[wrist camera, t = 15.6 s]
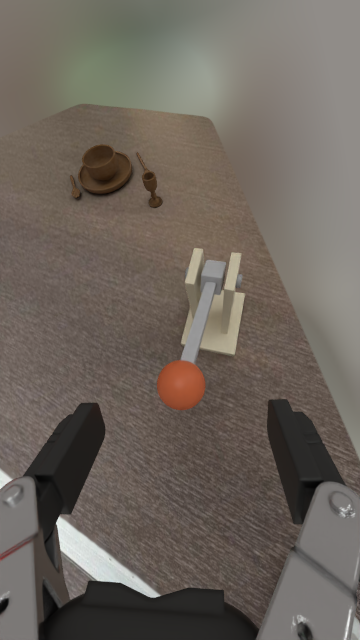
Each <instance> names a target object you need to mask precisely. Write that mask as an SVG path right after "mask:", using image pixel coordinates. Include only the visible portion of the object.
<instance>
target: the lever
mask: <svg viewBox="0 0 360 640" xmlns="http://www.w3.org/2000/svg"><path fill="white" fill-rule="evenodd" d="M225 270H226V262H220V261H212V260H206V263H205V265H204V268H203V271H202V274H201V292H202V295H201V298H200V301H199V304H198V307H197V310H196V313H195V316H194V319H193V323H192V326H191V329H190V332H189V335H188V338H187V341H186V344H185V347H184V350H183V353H182V356H181V359H180V360H178V361H174V362H171V363H169V364H168V365H166V366H165V367H164V368H163V369H162V371H161V372H160V374H159V377H158V381H157V389H158V393H159V396H160V398H161V399H162V401H163V402H164V403H165V404H166V405H167V406H169V407H171V408H173V409H176V410H186V409H190V408H192V407H194V406H195V405H196V404H197V403H198V402H199V401H200V400H201V398H202V397H203V395H204V391H205V379H204V376H203V374H202V372H201V370H200V369H199V368H198V367H197V366H196V365H195V363H196V359H197V356H198V352H199V348H200V345H201V341H202V338H203V334H204V330H205V327H206V323H207V319H208V316H209V312H210V309H211V305H212V301H213V298H214V294H215V295H220V294H221V291H222V287H223V283H224V278H225Z"/></svg>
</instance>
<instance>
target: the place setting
mask: <svg viewBox="0 0 360 640" xmlns="http://www.w3.org/2000/svg"><path fill="white" fill-rule="evenodd" d="M137 156H138V158H139V160H140V162H141V163H142V165H143V167H144V169H145V172H144V174H143V175H142V180H143V183H144V186H145V188H146V190H148V191H150V192H151V197H152V198H151V199H150V200H149V205H150V206H151V207H153V208H155V207H159V206H160V205H161V204H162V199H161V198H160V197H157V196H156V193H155V190H156V188H157V181H156V177H155V174H154V172H152V171H149V170H147V168H146V166H145V164H144V162H143V160H142V159H141V157H140V155H139V153H138V152H137ZM82 162H83V165H82V167H81V168H80V170H79V174H78V179H79V182H80V184H81V185H82V186H83V187H84V188H85V189H86V190H87V191H89V192H92V193H97V194H104V193H109V192H112V191H115V190H117V189H119V188H120V187H122V186H123V185H124V184H125V183H126V182H127V181H128V179H129V177H130V175H131V172H132V164H131V161H130V159H129V157H128V156H127V155H125V154H124V153H121V152H118V151H114V149H113V148H112V147H111V146H109V145H104V144H102V145H96V146H94V147H92V148H90V149H89V150H87V151H86V152H85V154H84V155H83V158H82ZM70 179H71V182H72V185H73V191H72V196H73V197H75V198H78V197H79V196H80V190H79V189H77V188H76V187H75V184H74V180H73V177H72V175H71V176H70Z"/></svg>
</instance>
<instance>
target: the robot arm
mask: <svg viewBox="0 0 360 640" xmlns="http://www.w3.org/2000/svg"><path fill="white" fill-rule="evenodd" d="M267 431H268V437H269V441H270V445H271V448H272V452H273V455H274V458H275V462H276V465H277V469H278V472H279V475H280V479H281V482H282V486H283V489H284V492H285V496H286V499H287V503H288V506H289V509H290V513H291V516H292V520H293V523H294V524H303V525H302V528H301V530H300V533H299V536H298V538H297V541H296V543H295V546H294V547H292V548H291V550H290V552H289V555H288V557H287V560H286V562H285V565H284V567H283V570H282V573H281V575H280V578H279V580H278V583H277V586H276V588H275V591H274V593H273V596H272V599H271V601H270V604H269V606H268V609H267V612H266V614H265V617H264V620H263V622H262V625H261V627H260V630H259V629H258V627H257V626H256V625H255V624H254V623H253V622H252V621H251V620H250V619H249V618H248V617H247V616H246V615H245V614H244V613H242V612H241V611H240V610H238V609H237V608H235V607H234V606H232V605H230V604H228V603H226V602H224V590H214V589H200V588H186V589H183V590H180V591H176V592H173V593H170V594H166V595H163V596H160V597H156V598H150V597H148V596H146V595H144V594H142V593H140V592H138V591H136V590H134V589H132V588H130V587H128V586H126V585H124V584H122V583H115V582H101V581H89V582H88V585H87V588H86V591H85V594H82V595H80V596H78V597H76V598H74V599H72V600H70V597H69V593H68V590H67V587H66V584H65V580H64V574H63V567H62V559H61V552H60V544H59V537H58V529H57V525H56V522H57V519H58V517H59V515H60V514H71V513H72V511H73V508H74V506H75V504H76V502H77V499H78V497H79V495H80V492H81V490H82V488H83V486H84V483H85V481H86V479H87V477H88V474H89V472H90V470H91V467H92V465H93V463H94V461H95V458H96V456H97V454H98V452H99V449H100V447H101V445H102V442H103V440H104V437H105V424H104V421H103V418H102V414H101V411H100V407H99V405H98V403H81V404H79V406H78V407H77V409H76V410H75V412H74V413H73V414H69V415H68V416H67V417H66V418H65V419H64V420H62V421H61V422H60V423H59V424H58V426H57V427H56V429H55V430H54V432H53V435H51V436H50V438H49V439H48V440H47V443H45V445H44V446H43V448H42V449H41V451H40V452H39V454H38V455H37V456H36V458H35V459H34V461H33V462H32V464H31V465H30V467H29V468H28V470H27V471H26V472H25V474H24V475H23V477H19V478H16V479H14V480H12V481H10V482H9V483H7V484H6V485H5V486H4V487H2V488H1V489H0V640H351V635H352V629H353V623H354V617H355V611H356V604H357V596H356V593H357V586H358V581H359V582H360V497H359V496H358V495H357V494H356V493H355V492H354V491H353V490H351V489H350V488H348V487H347V486H346V485H345V483H344V481H343V480H342V478H341V476H340V474H339V472H338V470H337V468H336V466H335V464H334V463H333V461H332V459H331V457H330V455H329V453H328V451H327V449H326V447H325V445H324V444H323V443H322V440H321V438H320V436H319V434H318V433H317V430H316V428H315V426H314V425H313V423H312V421H311V420H310V419H309V418H308V417H307V416H306V415H305V414H304V413H302V412H293V411H292V409H291V406H290V404H289V402H288V400H287V399H279V400H269V401H268V418H267Z"/></svg>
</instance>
